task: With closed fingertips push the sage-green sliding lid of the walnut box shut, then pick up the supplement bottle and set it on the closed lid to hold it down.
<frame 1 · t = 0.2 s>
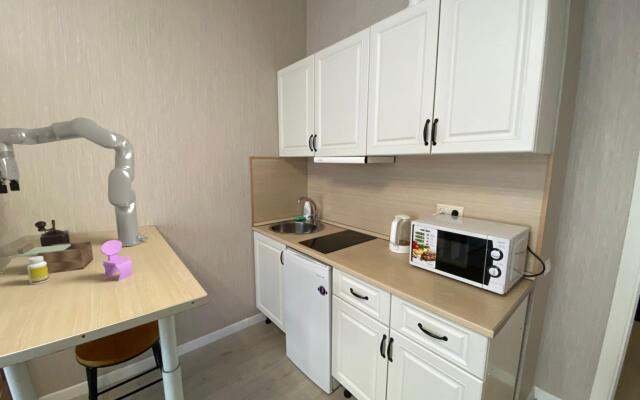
hand: (9, 192, 130), 31 cm above the table, fingers open, 9 cm apart
lid: (44, 247, 117), point 10 cm above the table, slide at 7.0 cm
supplement bottle: (40, 282, 107), on the table
box: (68, 266, 122), on the table
toy chair: (118, 277, 112), on the table
brown manual coffee grinder: (56, 253, 138), on the table
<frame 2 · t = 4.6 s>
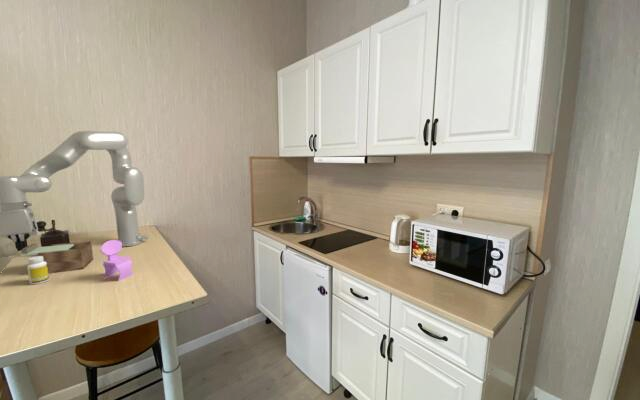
hand: (22, 249, 115), 10 cm above the table, fingers closed
lid: (48, 247, 118), point 10 cm above the table, slide at 5.8 cm, touching gripper
everything else where it was.
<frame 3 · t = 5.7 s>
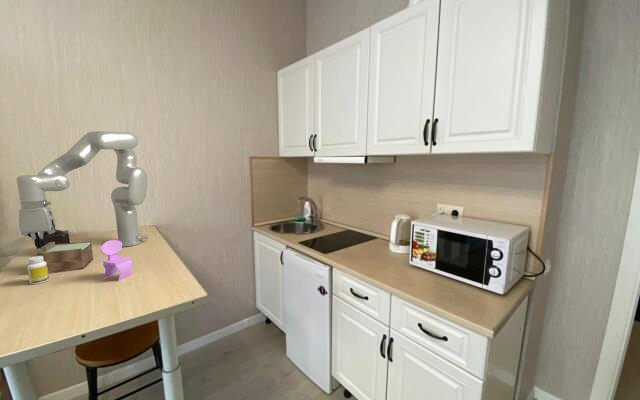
hand: (41, 247, 117), 10 cm above the table, fingers closed
lid: (66, 245, 120), point 10 cm above the table, slide at -0.2 cm, touching gripper
everything else where it was.
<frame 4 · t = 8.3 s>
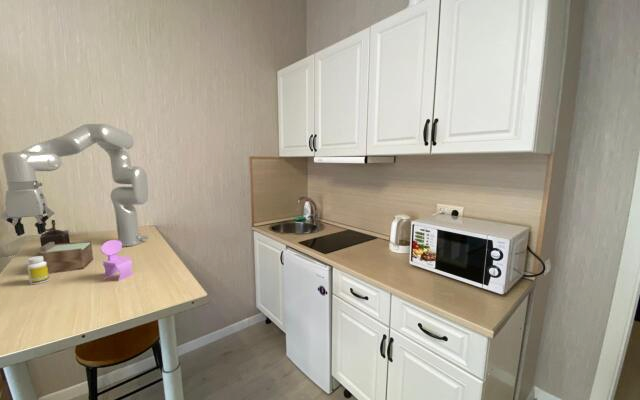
hand: (31, 233, 104), 19 cm above the table, fingers open, 5 cm apart
lid: (65, 245, 120), point 10 cm above the table, slide at 0.0 cm
everything else where it was.
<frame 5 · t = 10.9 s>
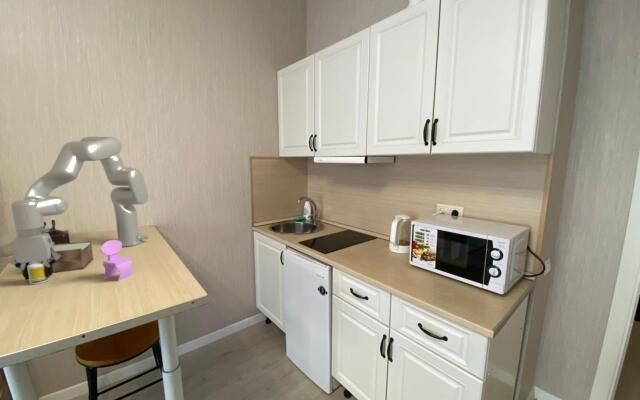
hand: (39, 276, 107), 2 cm above the table, fingers closed on supplement bottle, 5 cm apart
supplement bottle: (40, 282, 107), on the table, touching gripper
everything else where it was.
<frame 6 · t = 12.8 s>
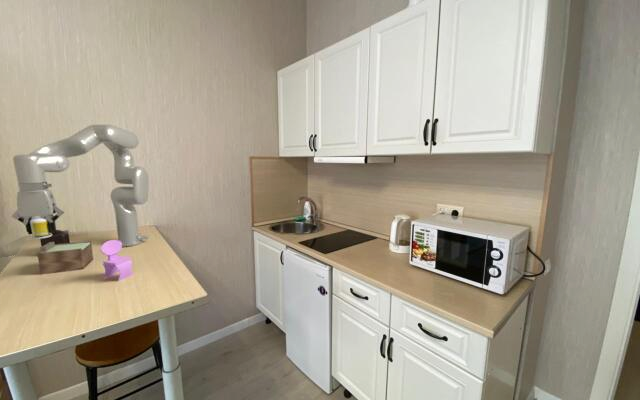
hand: (42, 232, 109), 19 cm above the table, fingers closed on supplement bottle, 5 cm apart
supplement bottle: (43, 237, 109), point 16 cm above the table, touching gripper
everything else where it was.
when the fingers open (12 cm above the table, at t = 15.0 s): supplement bottle drops 1 cm, resting on lid.
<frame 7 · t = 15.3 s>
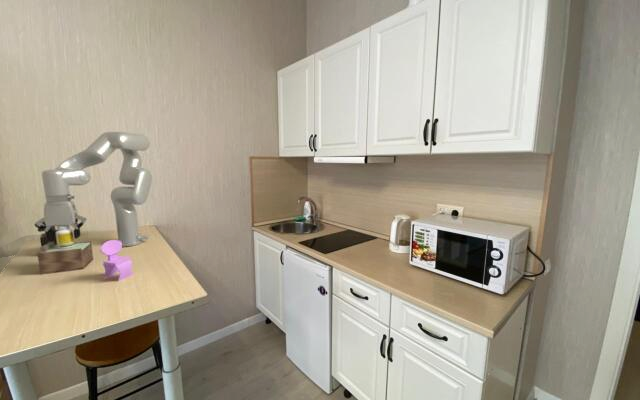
hand: (64, 238, 119), 13 cm above the table, fingers open, 8 cm apart
lid: (65, 245, 120), point 9 cm above the table, slide at 0.1 cm, touching supplement bottle
supplement bottle: (66, 247, 120), point 9 cm above the table, touching lid
everything else where it was.
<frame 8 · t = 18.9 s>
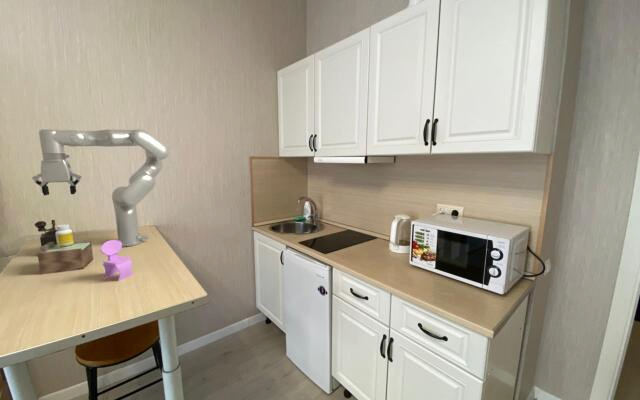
hand: (60, 194, 128), 30 cm above the table, fingers open, 9 cm apart
nothing on the table moved.
at the end: lid slide at 0.0 cm; supplement bottle inside the target area on the lid (0.7 cm from its centre), point 8.6 cm above the lid's base; supplement bottle tilted 0° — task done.
